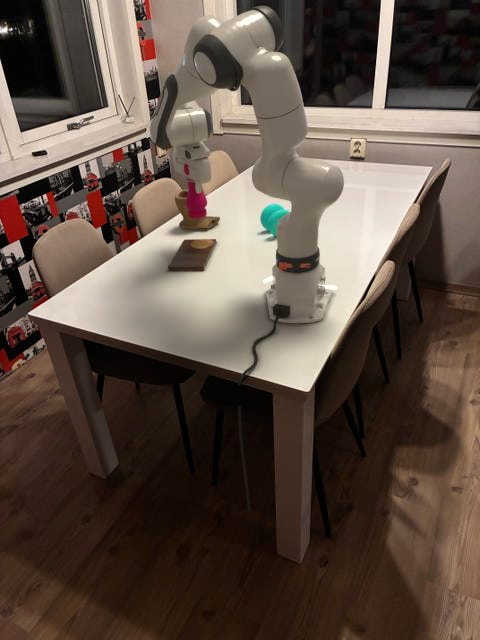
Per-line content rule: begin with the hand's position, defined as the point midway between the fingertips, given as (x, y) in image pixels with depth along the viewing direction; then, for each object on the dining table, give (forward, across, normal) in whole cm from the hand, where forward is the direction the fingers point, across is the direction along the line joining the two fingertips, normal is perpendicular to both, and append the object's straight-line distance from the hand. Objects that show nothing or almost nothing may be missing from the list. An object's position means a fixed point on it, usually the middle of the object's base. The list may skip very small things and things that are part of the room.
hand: (194, 190), depth 163 cm
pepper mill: (+9, 0, 0) cm, 9 cm away
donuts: (+22, +7, +28) cm, 36 cm away
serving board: (+21, +3, -5) cm, 22 cm away
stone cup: (+21, -19, +8) cm, 30 cm away
